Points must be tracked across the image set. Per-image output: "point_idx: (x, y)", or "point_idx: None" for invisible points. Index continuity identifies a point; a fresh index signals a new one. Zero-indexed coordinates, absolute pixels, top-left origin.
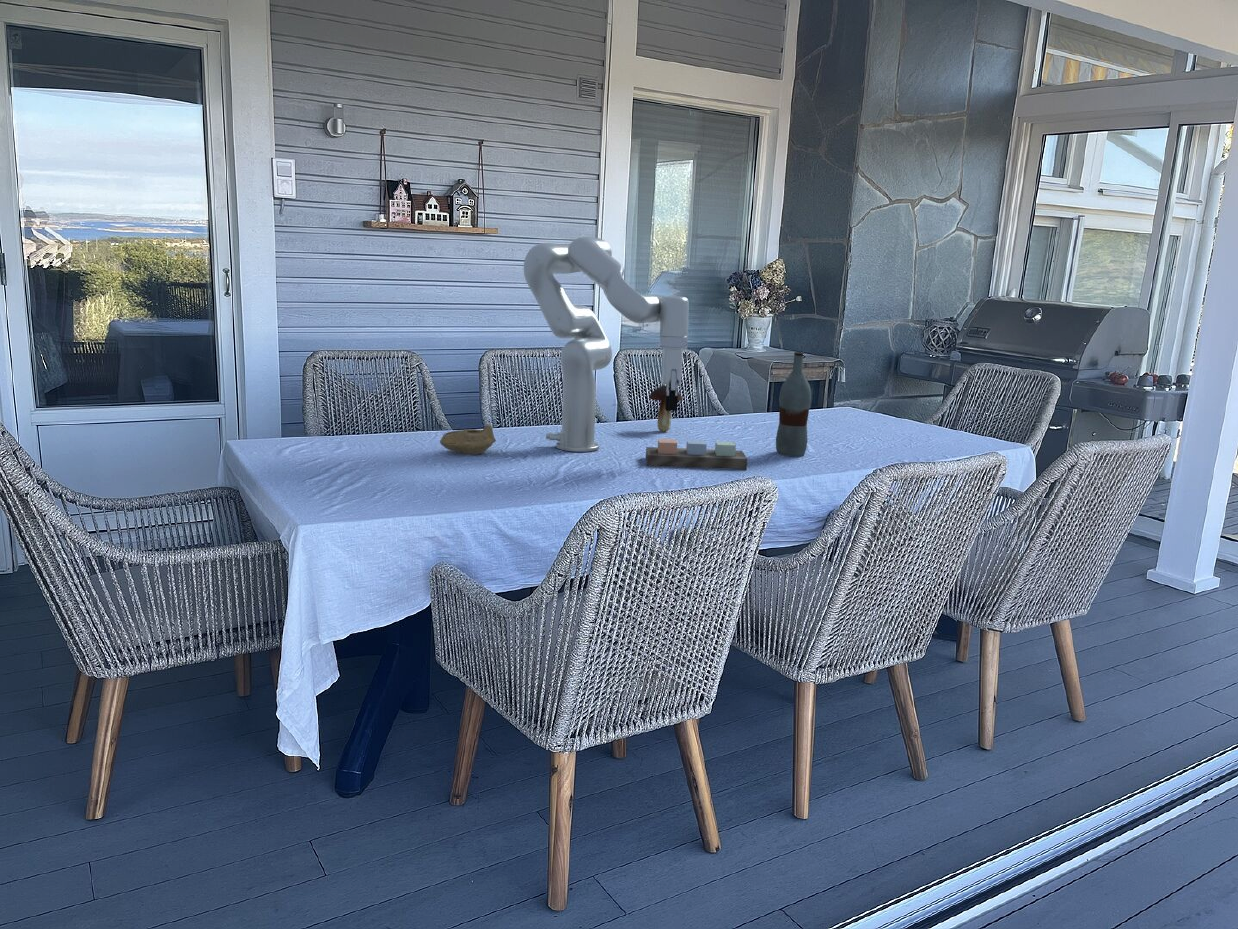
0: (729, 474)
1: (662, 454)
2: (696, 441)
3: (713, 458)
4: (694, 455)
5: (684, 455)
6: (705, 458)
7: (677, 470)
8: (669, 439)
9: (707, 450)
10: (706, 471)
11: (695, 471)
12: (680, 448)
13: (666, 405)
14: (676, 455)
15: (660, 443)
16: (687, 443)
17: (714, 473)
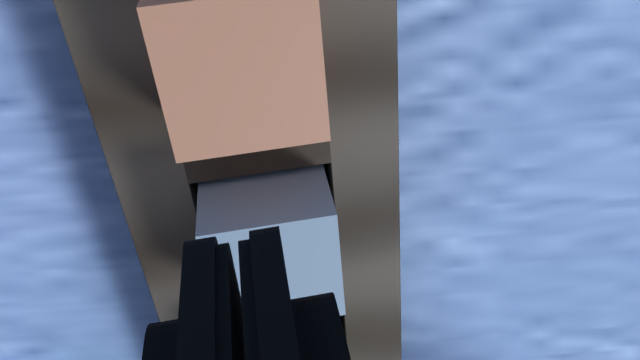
0: (58, 350)
1: (109, 17)
2: (302, 275)
3: (162, 319)
4: (177, 229)
5: (147, 174)
6: (149, 283)
7: (6, 107)
8: (322, 89)
9: (366, 278)
10: (72, 257)
11: (39, 207)
12: (391, 129)
13: (186, 301)
14: (121, 123)
15: (139, 19)
16: (263, 218)
17: (42, 294)
